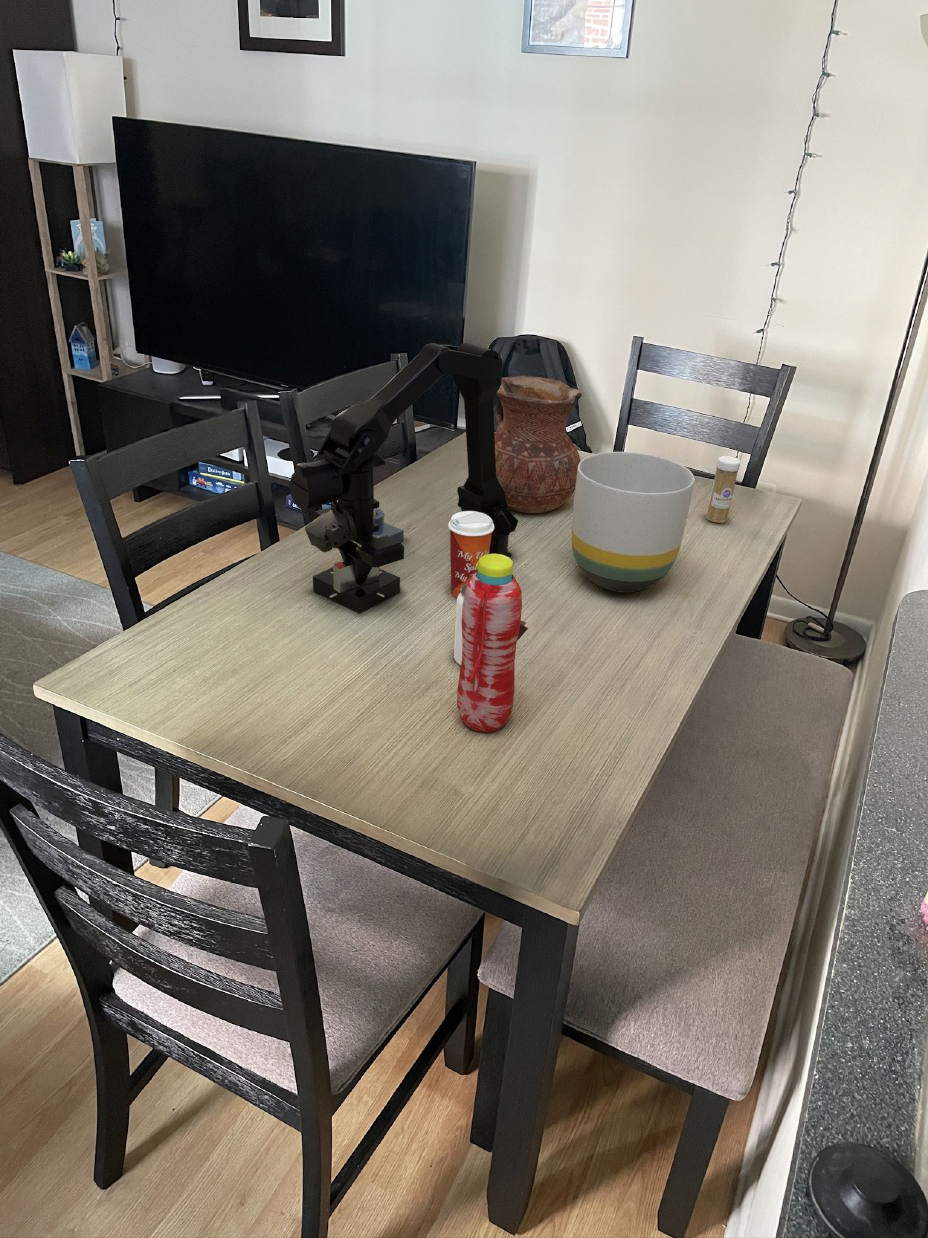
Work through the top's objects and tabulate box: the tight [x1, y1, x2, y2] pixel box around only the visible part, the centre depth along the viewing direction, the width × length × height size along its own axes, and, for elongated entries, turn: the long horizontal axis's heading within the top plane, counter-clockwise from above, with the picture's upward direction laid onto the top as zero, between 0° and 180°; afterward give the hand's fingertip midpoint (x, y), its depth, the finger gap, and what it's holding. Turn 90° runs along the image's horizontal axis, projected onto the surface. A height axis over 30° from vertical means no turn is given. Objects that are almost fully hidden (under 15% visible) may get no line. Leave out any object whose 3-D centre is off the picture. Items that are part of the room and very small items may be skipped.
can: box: [453, 583, 468, 667], centre depth 133 cm, size 6×6×12 cm
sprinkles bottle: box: [705, 455, 741, 524], centre depth 185 cm, size 5×5×13 cm
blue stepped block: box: [373, 508, 404, 543], centre depth 171 cm, size 10×9×4 cm
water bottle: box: [456, 554, 529, 733], centre depth 118 cm, size 12×8×25 cm, turn 153°
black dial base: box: [312, 566, 401, 615], centre depth 150 cm, size 14×13×3 cm
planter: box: [571, 451, 695, 593], centre depth 155 cm, size 20×20×21 cm
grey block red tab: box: [332, 559, 380, 593], centre depth 148 cm, size 8×2×5 cm, turn 130°
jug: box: [494, 375, 583, 514], centre depth 185 cm, size 22×21×25 cm
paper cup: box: [447, 511, 494, 599], centre depth 151 cm, size 8×8×14 cm
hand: (356, 581), depth 149 cm, fingers closed on grey block red tab, 2 cm apart
